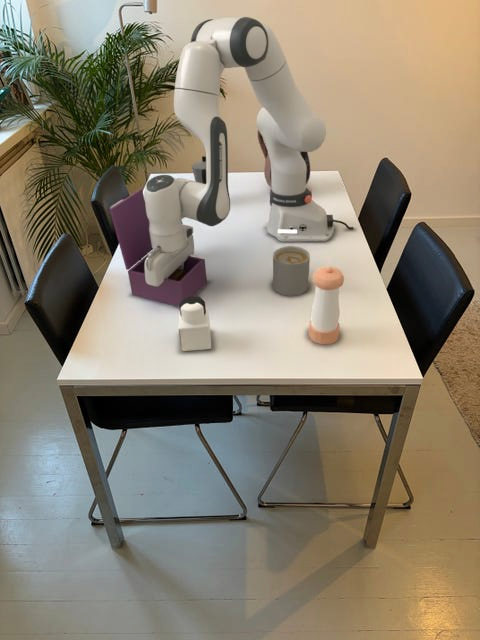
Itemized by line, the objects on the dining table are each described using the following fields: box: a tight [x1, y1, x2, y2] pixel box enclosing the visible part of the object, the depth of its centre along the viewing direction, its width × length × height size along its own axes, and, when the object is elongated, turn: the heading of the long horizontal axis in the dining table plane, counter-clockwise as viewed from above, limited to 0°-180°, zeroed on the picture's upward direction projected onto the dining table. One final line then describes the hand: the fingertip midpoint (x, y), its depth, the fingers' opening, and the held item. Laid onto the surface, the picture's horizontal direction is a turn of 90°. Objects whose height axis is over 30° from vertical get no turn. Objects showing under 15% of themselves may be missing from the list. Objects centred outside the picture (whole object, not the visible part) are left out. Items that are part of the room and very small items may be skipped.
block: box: [168, 268, 185, 281], centre depth 140 cm, size 5×5×5 cm
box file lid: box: [109, 188, 154, 271], centre depth 136 cm, size 18×14×5 cm
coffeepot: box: [191, 155, 207, 184], centre depth 182 cm, size 15×9×18 cm, turn 1°
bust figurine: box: [178, 295, 212, 352], centre depth 119 cm, size 7×7×12 cm
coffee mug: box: [272, 245, 311, 297], centre depth 140 cm, size 13×10×10 cm
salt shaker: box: [308, 266, 345, 345], centre depth 117 cm, size 7×7×19 cm
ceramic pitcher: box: [257, 129, 311, 189], centre depth 189 cm, size 18×21×25 cm
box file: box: [127, 250, 208, 307], centre depth 140 cm, size 17×14×8 cm
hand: (173, 282), depth 140 cm, fingers closed on block, 5 cm apart
